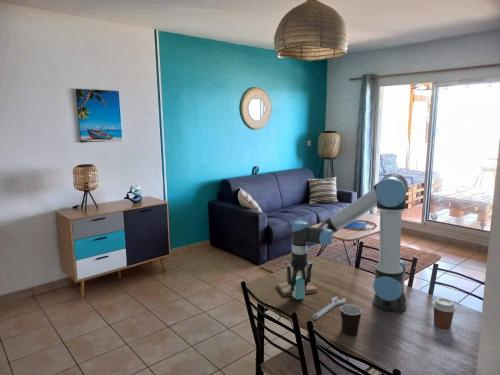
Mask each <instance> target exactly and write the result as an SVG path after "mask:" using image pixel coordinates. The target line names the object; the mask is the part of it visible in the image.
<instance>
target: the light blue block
mask: <svg viewBox="0 0 500 375" xmlns="http://www.w3.org/2000/svg"><path fill="white" fill-rule="evenodd" d="M295 285H296V298H295V300H304V299H305V297H304V279H303V278H302V275H297V276H296V280H295Z"/></svg>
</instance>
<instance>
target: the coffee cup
mask: <svg viewBox="0 0 500 375" xmlns="http://www.w3.org/2000/svg"><path fill="white" fill-rule="evenodd" d="M431 304H432V307H433V327H434V328H435V329H436V330H438V331H440V332H450V331H451V327H452V323H453V318H454V312H456V311H457V306H456V305H455V303H454V301H452V300H451V299H449V298H445V297H437V298H435V299H434V300H433V301H432V303H431Z"/></svg>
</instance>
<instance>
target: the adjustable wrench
mask: <svg viewBox="0 0 500 375" xmlns="http://www.w3.org/2000/svg"><path fill="white" fill-rule="evenodd" d="M346 303H347V299H346V298H345V297H343V298H342V299H338V296H333V297H331V298H330V303H329V304H328V305H326V306H324V307H323V308H321V309H320V310H318V311H317V312H316V313H314V314H313V315H312V319H313V320H315V321H318V320H319V319H320V318H321V317H323V316H324V315H326V314H327V313H328V312H330V311H331V310H332V309H334V308H335V307H337V306H343V305H346Z"/></svg>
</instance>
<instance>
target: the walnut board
mask: <svg viewBox="0 0 500 375" xmlns="http://www.w3.org/2000/svg"><path fill="white" fill-rule="evenodd" d="M276 287H277V288H278V290H279V291H280V292H281V294H282V296H283V297H291V296H292V291H291V285H289V284H288V283H287V281H282V282H277V283H276ZM315 293H318V288H317V287H316V286H315V285H314V284H313V283H312V282H311V281H310V283H307V285H306V290H305V295H306V294H307V295H308V294H315ZM292 297H293V296H292Z"/></svg>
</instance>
